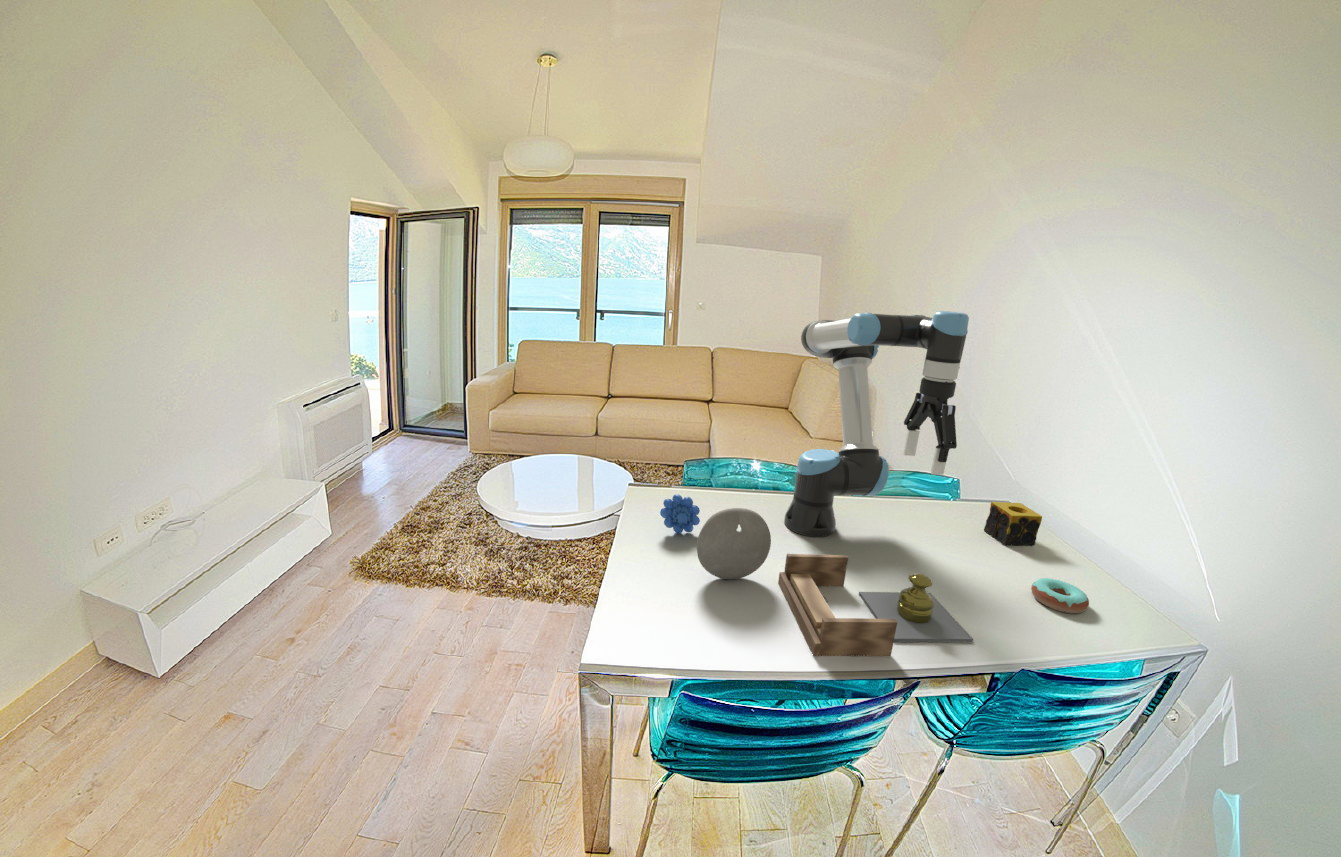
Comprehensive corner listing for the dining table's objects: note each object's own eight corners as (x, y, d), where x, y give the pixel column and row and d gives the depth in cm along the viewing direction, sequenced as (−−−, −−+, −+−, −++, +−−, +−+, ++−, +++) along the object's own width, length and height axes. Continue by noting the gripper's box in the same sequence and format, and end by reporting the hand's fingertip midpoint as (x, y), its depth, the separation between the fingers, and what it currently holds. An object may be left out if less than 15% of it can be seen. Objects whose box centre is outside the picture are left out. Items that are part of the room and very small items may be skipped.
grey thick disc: (761, 570, 147) (769, 502, 142) (770, 584, 141) (779, 514, 136) (691, 571, 144) (696, 502, 139) (696, 587, 138) (703, 515, 132)
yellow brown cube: (982, 530, 180) (989, 501, 177) (1013, 531, 181) (1020, 502, 178) (1003, 546, 170) (1011, 515, 167) (1035, 546, 171) (1043, 516, 168)
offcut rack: (841, 583, 143) (846, 555, 141) (890, 656, 117) (897, 622, 115) (778, 582, 142) (781, 553, 140) (813, 656, 116) (818, 621, 113)
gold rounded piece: (915, 626, 126) (923, 586, 123) (889, 608, 132) (896, 569, 130) (938, 619, 129) (947, 580, 127) (911, 602, 136) (919, 564, 133)
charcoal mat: (929, 595, 141) (930, 592, 140) (972, 642, 123) (973, 638, 123) (858, 594, 139) (859, 591, 139) (892, 641, 122) (892, 638, 122)
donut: (1046, 585, 150) (1049, 571, 148) (1096, 609, 140) (1101, 595, 139) (1019, 595, 144) (1023, 581, 143) (1070, 621, 134) (1074, 606, 133)
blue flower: (661, 540, 159) (663, 500, 156) (657, 529, 166) (659, 491, 163) (701, 539, 162) (705, 500, 158) (696, 529, 168) (700, 490, 165)
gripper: (986, 391, 123) (966, 483, 129) (927, 369, 147) (912, 448, 153) (953, 389, 122) (934, 482, 128) (899, 368, 146) (885, 447, 152)
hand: (922, 464), depth 141 cm, fingers open, 13 cm apart
